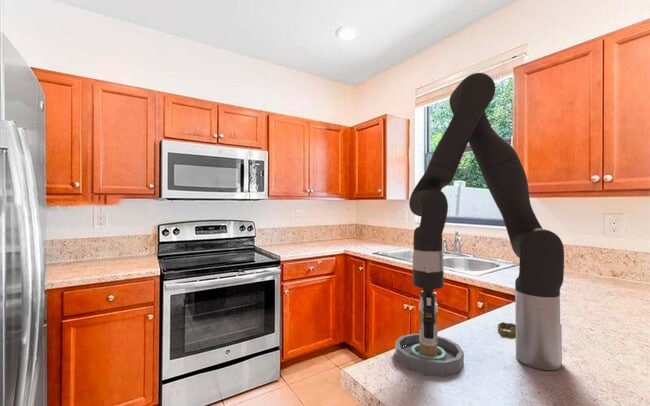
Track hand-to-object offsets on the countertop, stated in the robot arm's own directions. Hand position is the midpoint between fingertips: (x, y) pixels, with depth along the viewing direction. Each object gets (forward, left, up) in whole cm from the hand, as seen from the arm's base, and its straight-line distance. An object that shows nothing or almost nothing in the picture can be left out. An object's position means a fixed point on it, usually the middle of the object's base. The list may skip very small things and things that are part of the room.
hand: (428, 331), depth 79 cm
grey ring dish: (0, 0, -7) cm, 7 cm away
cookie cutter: (-39, -1, -8) cm, 40 cm away
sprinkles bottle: (0, 0, -6) cm, 6 cm away
